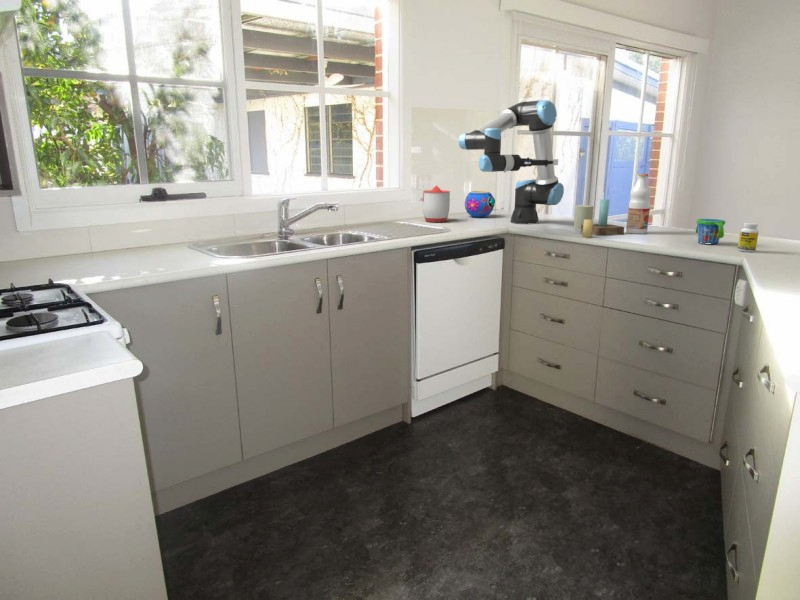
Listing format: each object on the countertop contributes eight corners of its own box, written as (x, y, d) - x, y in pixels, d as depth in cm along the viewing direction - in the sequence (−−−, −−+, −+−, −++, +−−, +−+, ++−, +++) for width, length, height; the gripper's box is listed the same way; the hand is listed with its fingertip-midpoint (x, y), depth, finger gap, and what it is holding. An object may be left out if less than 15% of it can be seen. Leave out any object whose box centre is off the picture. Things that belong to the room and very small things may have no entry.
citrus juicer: (419, 219, 324) (419, 184, 319) (449, 219, 323) (449, 184, 318) (418, 223, 309) (419, 186, 304) (450, 223, 308) (451, 186, 303)
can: (588, 230, 281) (590, 206, 278) (570, 228, 286) (572, 205, 283) (594, 228, 288) (596, 204, 285) (577, 226, 293) (578, 203, 290)
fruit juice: (624, 231, 277) (630, 173, 269) (644, 231, 275) (651, 173, 267) (627, 234, 268) (634, 174, 260) (648, 234, 266) (655, 174, 259)
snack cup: (686, 240, 248) (689, 217, 245) (710, 240, 248) (713, 217, 245) (704, 246, 233) (708, 222, 230) (730, 246, 233) (733, 222, 230)
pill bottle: (736, 251, 222) (741, 223, 219) (737, 249, 227) (742, 222, 224) (755, 253, 218) (759, 224, 216) (755, 250, 223) (760, 223, 221)
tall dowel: (595, 232, 272) (598, 199, 268) (602, 232, 274) (605, 199, 269) (600, 233, 269) (604, 200, 265) (607, 233, 270) (611, 199, 266)
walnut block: (580, 231, 276) (581, 224, 275) (604, 230, 280) (605, 223, 279) (598, 235, 263) (599, 228, 262) (623, 234, 267) (624, 226, 266)
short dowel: (580, 236, 260) (581, 219, 258) (587, 236, 261) (589, 219, 259) (585, 238, 256) (587, 220, 254) (593, 237, 257) (594, 220, 255)
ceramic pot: (492, 219, 326) (493, 193, 322) (462, 218, 330) (463, 192, 326) (495, 215, 342) (496, 190, 338) (466, 215, 346) (466, 190, 342)
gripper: (497, 170, 275) (535, 168, 281) (524, 172, 252) (564, 170, 259) (498, 154, 273) (535, 153, 279) (524, 155, 250) (565, 154, 257)
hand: (549, 161), depth 269 cm, fingers open, 13 cm apart
